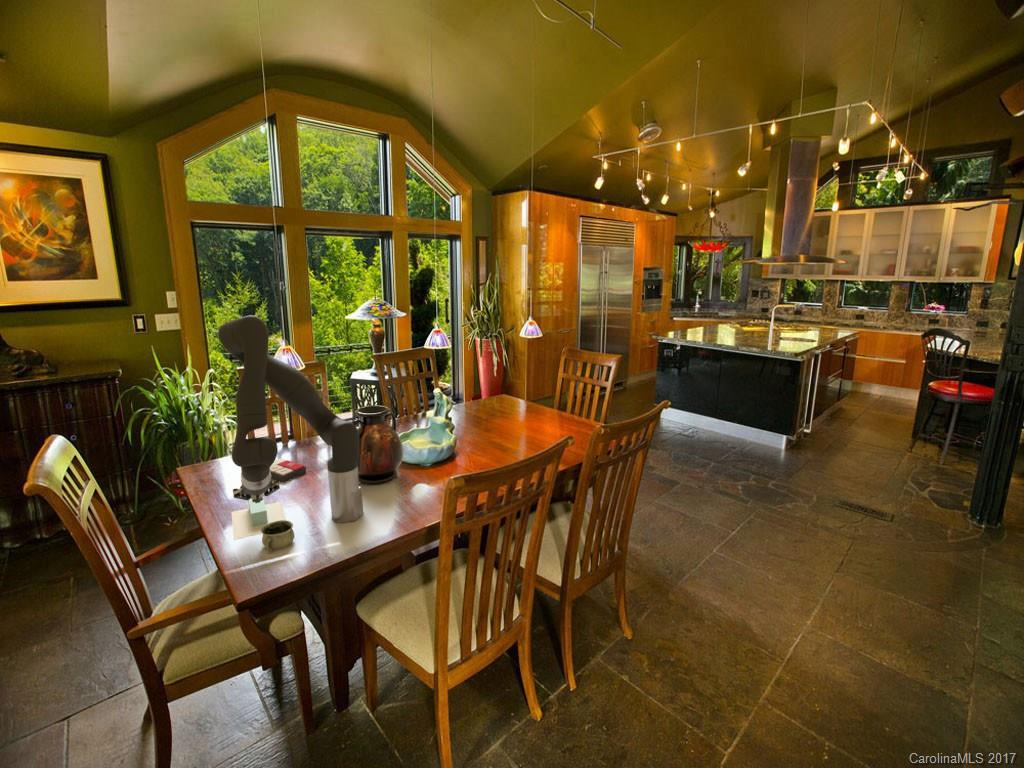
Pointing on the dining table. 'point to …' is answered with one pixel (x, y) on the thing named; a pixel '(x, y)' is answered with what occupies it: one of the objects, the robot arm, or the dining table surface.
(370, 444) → the amphora vase
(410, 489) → the dining table surface
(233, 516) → the mat
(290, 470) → the calculator
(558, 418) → the dining table surface
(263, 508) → the block
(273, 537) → the vessel
